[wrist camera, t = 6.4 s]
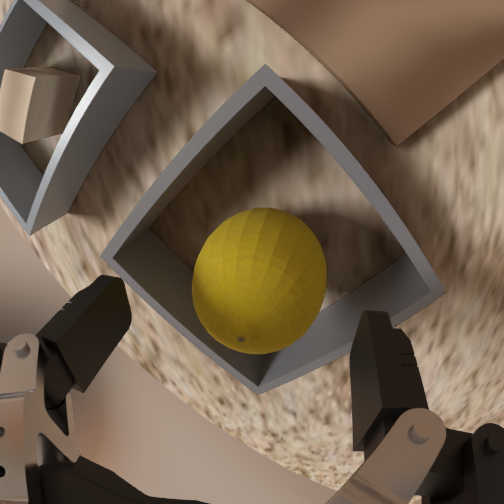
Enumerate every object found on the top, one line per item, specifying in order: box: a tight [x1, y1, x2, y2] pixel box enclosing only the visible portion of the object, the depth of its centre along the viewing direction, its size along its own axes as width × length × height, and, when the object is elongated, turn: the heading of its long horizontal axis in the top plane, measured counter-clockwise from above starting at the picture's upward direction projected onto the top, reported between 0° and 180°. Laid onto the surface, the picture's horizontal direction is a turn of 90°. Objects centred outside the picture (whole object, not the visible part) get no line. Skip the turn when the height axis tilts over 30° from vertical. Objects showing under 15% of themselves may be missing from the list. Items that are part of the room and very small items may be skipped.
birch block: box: [0, 67, 81, 144], centre depth 13 cm, size 4×4×4 cm
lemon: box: [192, 208, 327, 354], centre depth 13 cm, size 6×6×8 cm
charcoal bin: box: [101, 64, 446, 395], centre depth 14 cm, size 12×12×4 cm
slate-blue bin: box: [0, 0, 158, 236], centre depth 13 cm, size 12×12×4 cm
